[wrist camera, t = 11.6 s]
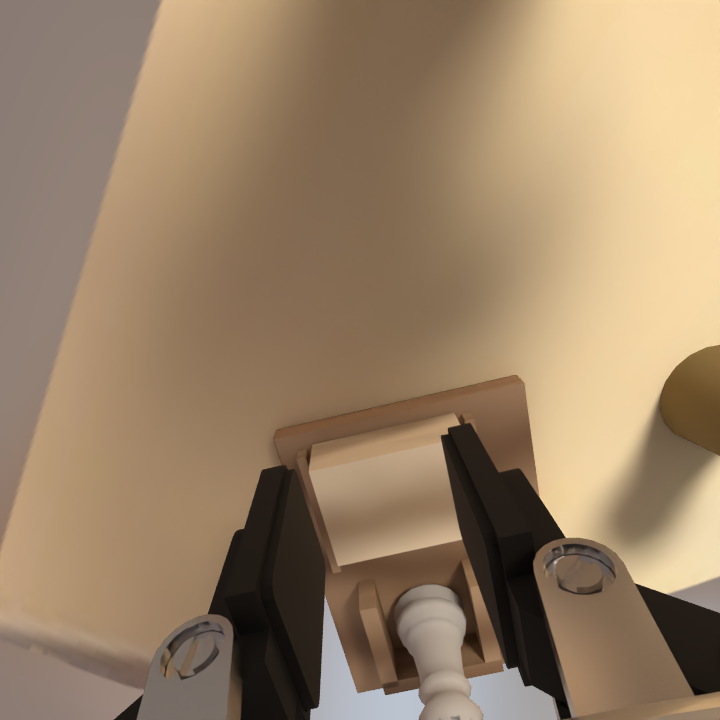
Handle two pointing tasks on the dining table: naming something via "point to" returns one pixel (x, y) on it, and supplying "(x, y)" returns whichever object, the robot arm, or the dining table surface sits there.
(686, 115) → the dining table surface
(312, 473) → the cream rectangular block
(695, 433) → the cork
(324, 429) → the board
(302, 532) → the robot arm
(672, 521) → the dining table surface
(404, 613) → the rook chess piece
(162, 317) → the dining table surface
